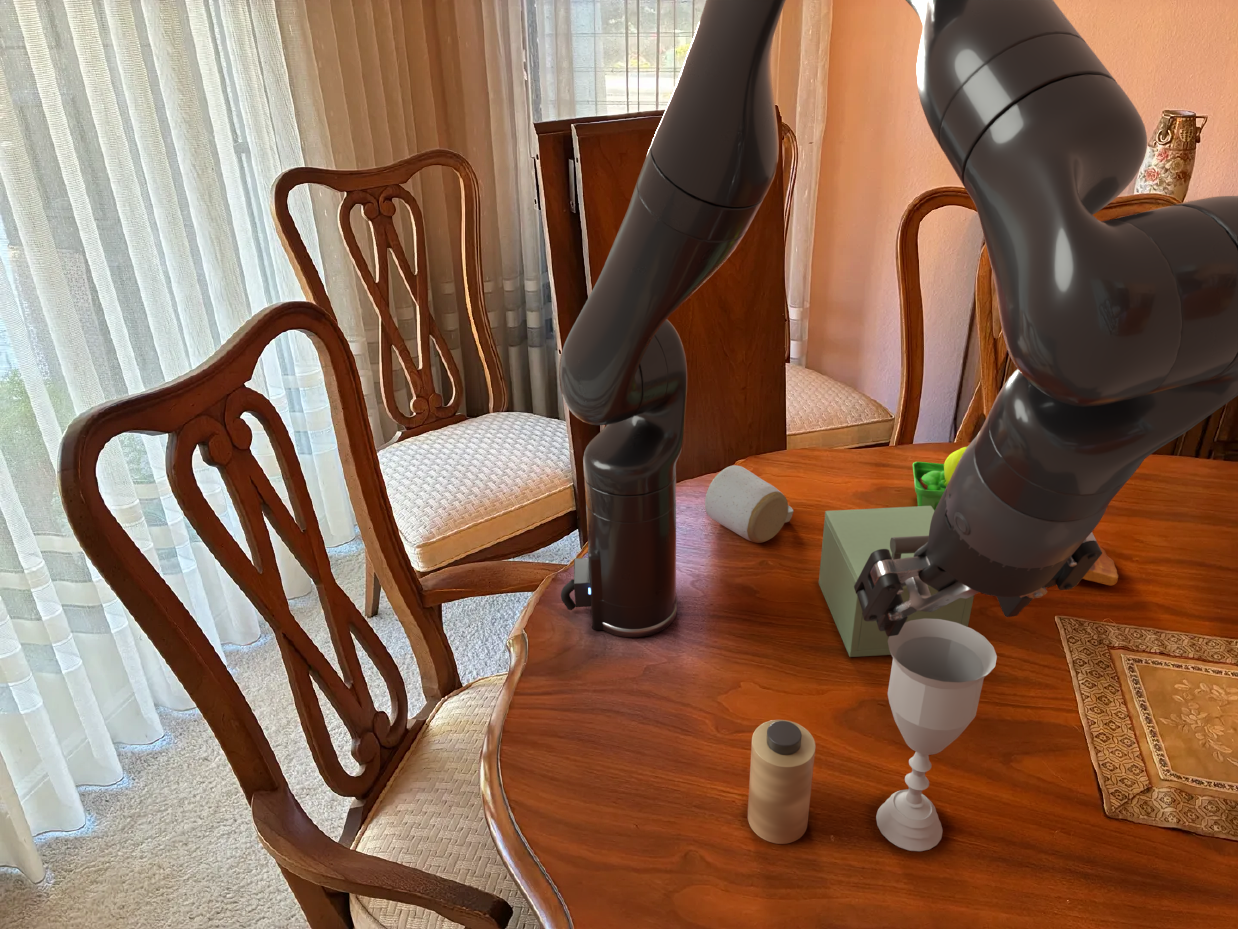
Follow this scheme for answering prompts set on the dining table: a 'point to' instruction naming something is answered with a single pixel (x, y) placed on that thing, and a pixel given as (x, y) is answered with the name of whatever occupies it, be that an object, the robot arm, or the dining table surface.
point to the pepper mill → (780, 780)
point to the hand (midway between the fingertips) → (945, 614)
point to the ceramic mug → (747, 504)
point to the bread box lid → (879, 532)
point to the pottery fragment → (1103, 571)
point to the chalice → (930, 714)
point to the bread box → (847, 608)
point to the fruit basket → (934, 478)
